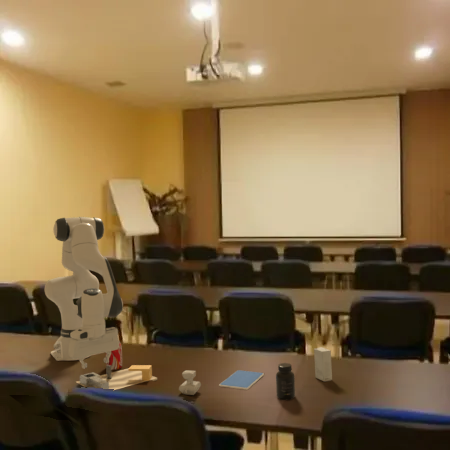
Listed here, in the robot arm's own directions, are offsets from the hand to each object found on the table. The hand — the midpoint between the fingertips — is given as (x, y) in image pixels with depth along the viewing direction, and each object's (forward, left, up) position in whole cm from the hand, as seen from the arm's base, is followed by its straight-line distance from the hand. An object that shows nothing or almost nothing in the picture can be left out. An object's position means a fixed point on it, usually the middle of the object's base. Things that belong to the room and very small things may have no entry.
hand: (95, 365), depth 215 cm
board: (-1, +10, -9) cm, 14 cm away
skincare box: (+56, +72, -10) cm, 91 cm away
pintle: (-5, +9, -9) cm, 14 cm away
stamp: (+31, +24, -10) cm, 40 cm away
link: (0, 0, -9) cm, 9 cm away
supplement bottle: (+59, +47, -10) cm, 75 cm away
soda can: (-17, +18, -10) cm, 27 cm away
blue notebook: (+33, +47, -10) cm, 59 cm away
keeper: (+4, +18, -9) cm, 21 cm away
